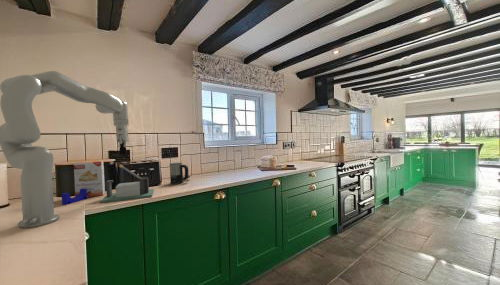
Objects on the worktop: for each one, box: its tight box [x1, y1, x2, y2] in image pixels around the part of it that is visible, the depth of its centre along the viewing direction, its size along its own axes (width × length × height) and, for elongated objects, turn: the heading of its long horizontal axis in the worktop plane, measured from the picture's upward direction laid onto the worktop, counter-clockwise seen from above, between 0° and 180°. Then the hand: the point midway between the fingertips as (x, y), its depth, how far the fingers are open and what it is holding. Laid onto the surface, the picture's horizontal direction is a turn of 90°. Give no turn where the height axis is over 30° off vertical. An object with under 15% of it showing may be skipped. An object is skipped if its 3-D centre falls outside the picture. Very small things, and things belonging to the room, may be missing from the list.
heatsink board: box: [100, 176, 154, 204], centre depth 133 cm, size 18×25×10 cm
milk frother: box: [169, 162, 191, 185], centre depth 172 cm, size 14×16×15 cm
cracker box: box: [73, 160, 106, 198], centre depth 137 cm, size 14×6×21 cm, turn 112°
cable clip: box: [61, 189, 88, 206], centre depth 126 cm, size 12×4×6 cm, turn 169°
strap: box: [118, 164, 142, 180], centre depth 133 cm, size 16×3×1 cm
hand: (123, 154), depth 132 cm, fingers closed
